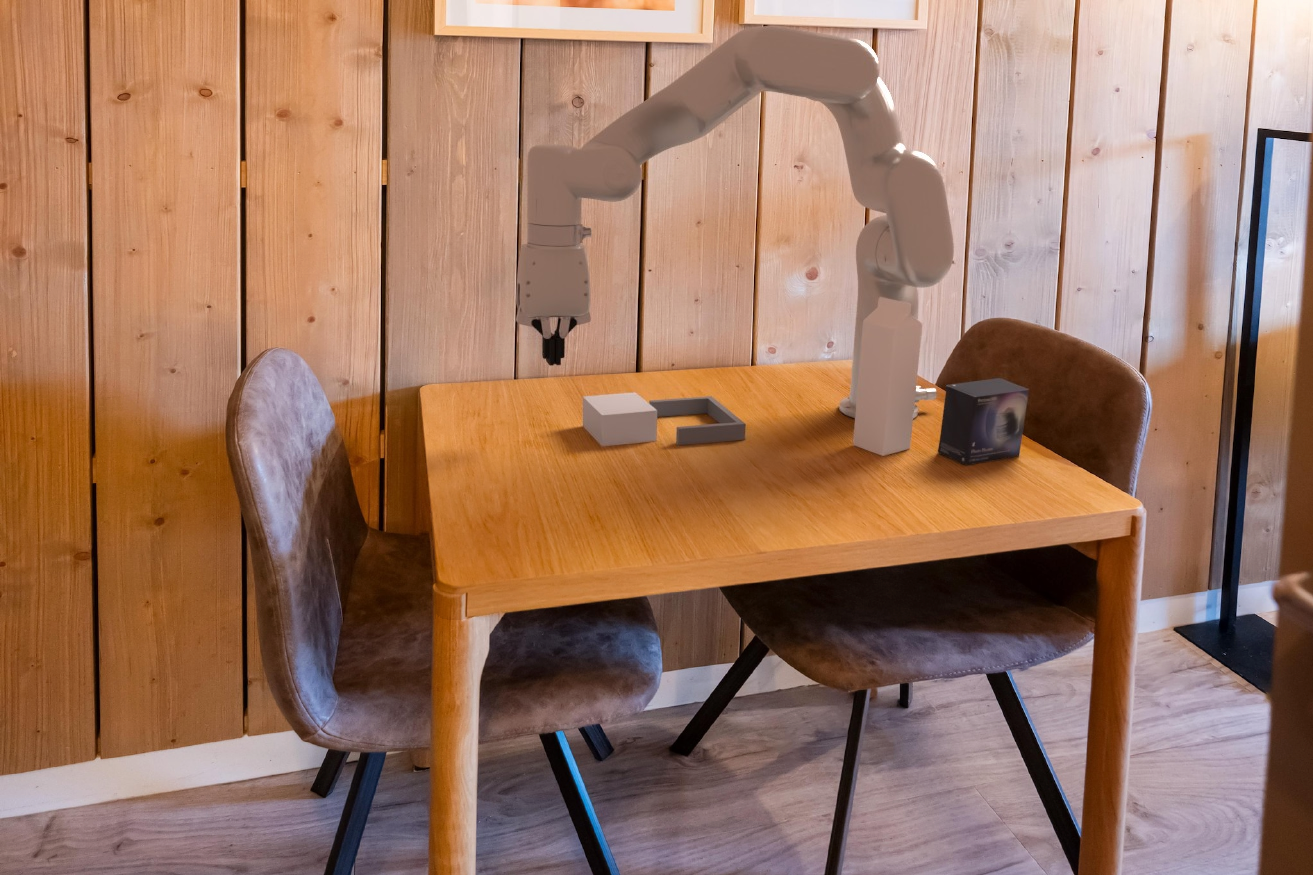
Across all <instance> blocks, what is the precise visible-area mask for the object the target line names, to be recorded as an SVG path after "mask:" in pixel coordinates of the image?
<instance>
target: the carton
mask: <svg viewBox="0 0 1313 875" xmlns="http://www.w3.org/2000/svg"><path fill="white" fill-rule="evenodd" d="M582 427H583V428H584V429H585V430H586V431H587V432H588V433H589V434H590V436H592V438H594V440H595V441H596V442H597V443H598V444H599V445H600V447H608V446H609V447H610V446H619V445H630V444H640V443H649V442H658V441H657V440H658V439H657V438H658V417H657V410H656V409H655V408H654V407H653V406H651V405H650V404H649V401H647V400H645V399H644V397H642V396H640V395H639V394H638V393H637V392H635V391H634V392H624V393H609V394H598V395H586V396H582Z"/></svg>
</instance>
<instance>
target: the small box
mask: <svg viewBox="0 0 1313 875" xmlns="http://www.w3.org/2000/svg"><path fill="white" fill-rule="evenodd" d="M1029 391H1030V389H1029V388H1026V387H1025V386H1021V385H1018V384H1016V383H1013V382H1011V381H1008V380H1006V379H1003V378H1001V377H997V378H995V377H994V378H989V379H981V380H975V381H974V380H973V381H967V382H959V383H950V384H946V385H945V396H944V403H943V404H944V405H943V412H942V419H941V420H942V421H941V426H940V434H939V442H938V449H937V453H938V454H940V455H942V456H944V457H946V458H949V459H951V460H952V461H953V460H954V461H955V462H958V463H960V464H962V465H964V466H969V465H976V464H981V463H986V462H987V463H988V462H993V461H998V460H1004V459H1011V458H1017V457H1020V453H1021V446H1022V441H1023V440H1022V438H1023V433H1024V427H1025V426H1024V425H1025V418H1026V412H1027V405H1028V398H1029Z"/></svg>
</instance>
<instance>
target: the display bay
mask: <svg viewBox="0 0 1313 875" xmlns="http://www.w3.org/2000/svg"><path fill="white" fill-rule="evenodd" d="M648 403H649V404H650V405H651V406H653V407H654V408H655V409H656V410H657V418H659V417H674V416H688V415H701V414H702V415H703V414H708V415H709V416H710V417H711V418H712V419H714V420H715V421H716V422H717V423H711V424H699V425H698V424H697V425H696V424H695V425H686V426H685V425H684V426H682V425H681V426H676V434H675V435H676V438H675V441H676V445H678V446H683V445H696V444H697V445H698V444H707V443H708V444H709V443H720V442H734V441H745V440H746V425H747V424H746V423H745V422H744V421H743V420H742V419H740V418H739V417H738V416H736V414H734V413H733V412H732V411H731V410H729V409H728V408H727V407H726V406H724V405H723V404H722V403H721V402H720V401H718V400H717V399H716V398H715V397H713V396H712V395H711V396H696V397H682V398H679V397H678V398H668V399H667V398H665V399H653V400H649V401H648Z"/></svg>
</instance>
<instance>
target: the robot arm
mask: <svg viewBox="0 0 1313 875" xmlns="http://www.w3.org/2000/svg"><path fill="white" fill-rule="evenodd" d="M763 92H771V93H776V94H777V93H779V94H783V95H789V96H794V97H801V98H806V99H808V100H811V101H814V102H820V104H822V105H824V106H825V108H827V109H828V110H829V111H830V112H831V114H832V116H833V117H834V119H835V121H836V123H837V125H838V128H839V132H840V135H841V140H842V143H843V149H844V154H845V160H846V163H847V169H848V173H849V180H850V184H851V190H852V193H853V196H854V198H855V199H856V201H857V202H858V203H859V204H860V205H861V206H862V207H865V208H866V209H869V210H872V211H875V212H878V213H879V212H880V213H882V214H883V213H884V214H885V215H880V216H878V217H875V218H873V219H870V221H868V222H867V223H866V224H865V226H863V228H862V229H861V231H860V232H859V235H858V237H857V241H856V245H855V246H856V247H855V262H856V264H855V265H856V273H857V302H856V303H857V304H856V305H857V306H856V316H855V326H854V337H853V338H854V339H853V350H852V351H853V352H852V362H851V363H852V364H851V374H850V375H851V377H850V390H849V396H847V397H844V398H842V399H841V400H840V401H839V407H838V408H839V411H840V413H843V414H844V415H845V416H847V417H850V418H853V419H855V414H856V402H857V389H858V377H859V365H860V353H861V341H862V328H863V320H864V319H866V318H867V317H868V316H869V315H870V314H871V313H872V312H873V311H874V310H875V309H876V308H877V307H878V299H879V297H883V298H888V299H892V300H897V301H902V302H906V303H910V304H911V311H910V314H911V315H912V316H913V317H914V318H916V319H917V320H918V315H919V293H918V292H919V291H918V288H921V289H922V288H930V287H933V286H935V285H937V284H938V283H940V282H942V280H943V279H944V278H946V277H947V275H948V273H949V271H950V270H951V267H952V264H953V261H954V260H953V259H954V256H955V255H954V254H955V253H954V252H955V251H954V250H955V249H954V248H955V247H954V245H955V244H954V236H953V229H952V225H951V224H952V223H951V217H950V211H949V205H948V199H947V198H948V197H947V192H946V188H945V183H944V179H943V175H942V173H941V171H940V169H939V167H938V166H937V164H936V163H935V161H934V160H933V159H932V158H931V157H929V156H928V155H927V154H924V153H923V152H921V151H919V150H913V149H907V148H906V146H905V144H904V139H903V137H902V132H901V131H902V130H901V127H900V123H899V120H898V115H897V110H896V108H895V103H894V100H893V98H892V96H891V93H890V92H889V89H888V87H887V86H886V85H885V82H883V80H882V79H881V77H880V63H879V60H878V56H877V54H876V52H875V51H874V50H873V48H872V47H871V46H869V45H868V44H867V43H866V42H864V41H862V40H859V39H857V38H851V37H847V36H838V35H834V34H828V33H827V34H825V33H821V32H820V33H819V32H813V31H809V30H802V29H798V28H797V29H796V28H792V27H787V26H781V25H780V26H779V25H765V26H755V27H754V26H753V27H748V28H745V29H742V30H740V31H738V32H737V33H735V34H734V35H732V36H731V37H729V38H728V39H727V40H726V41H724V42H723V43H722V44H720V45H719V46H717V47H716V48H715V49H714V50H712V51H711V52H710V53H709V54H707V55H706V56H705V57H704V58H702V59H701V60H700V61H699V62H698V63H696V64H695V65H693V66H692V67H691V68H690V69H688V70H687V71H686V72H684V73H683V74H682V75H680V76H679V77H677V79H675V80H674V81H672V82H671V83H669V84H668V85H667V86H666V87H664V88H663V89H661V90H659V91H658V92H656V93H654V94H653V95H652V96H650V97H649V98H647V99H646V100H645V101H643V102H641V103H639V104H638V105H636V106H635V107H633V108H631V109H630V110H628V111H627V112H625V113H624V114H622V115H621V116H620V117H618V118H616V119H615V120H614V121H612V122H611V123H610V124H608V125H607V126H606V127H605V128H603V129H602V130H601V131H600V132H599V133H597V134H596V135H594V136H593V137H592V138H591V139H589V140H588V141H587V142H585V144H584V145H582V147H580V148H577V147H575V146H573V145H568V144H567V145H566V144H537V145H534V146H532V147H530V148H529V150H528V153H527V160H526V161H527V167H526V168H527V169H526V170H527V171H526V172H527V177H526V178H527V179H526V181H527V184H526V185H527V187H526V189H527V194H526V195H527V196H526V197H527V203H526V204H527V207H526V208H527V213H526V217H527V227H526V228H527V231H526V232H527V236H526V237H527V241H526V242H527V243H524V244H521V247H520V251H519V258H518V264H517V274H516V294H515V296H516V297H515V298H516V301H515V302H516V308H517V312H516V313H517V314H516V317H515V321H516V322H517V323H518V324H519V325H522V326H527V327H530V328H531V327H532V328H534V329H535V330H536V331H537V332H538V333H539V334H540V335H541V337H542V338H541V339H542V340H541V341H542V342H541V348H542V349H541V350H542V351H541V354H542V359H543V360H545V361H546V363H547V364H548V365H549V367H550V366H555V365H556V366H561V365H562V359H565V353H566V352H565V350H566V349H565V348H566V347H565V344H566V343H565V342H566V340H565V339H566V338H567V337H568V335H569V333H570V332H571V331H572V330H574V328H576V326H581V325H583V324H584V325H585V324H587V323H590V322H591V320H592V317H591V315H590V314H591V313H590V310H591V282H590V268H589V260H588V255H587V254H588V253H587V250H586V246H585V245H584V244H582V243H583V241H584V239H586V238H591V237H592V229H591V227H586V226H583V223H582V206H583V205H582V203H583V202H582V201H583V199H590V200H596V201H604V202H611V203H614V202H615V203H616V202H621V201H622V202H623V201H624V200H627V199H629V198H631V197H632V196H633V195H634V194H635V193H636V192H637V190H638V189H639V187H640V185H641V181H642V177H643V171H642V167H641V166H642V165H643V164H644V163H646V162H648V161H649V160H650V159H652V158H654V157H656V156H657V155H659V154H661V153H663V152H664V151H667V150H669V149H672V148H675V147H678V146H683V145H686V144H690V143H692V142H694V141H696V140H698V139H701V138H703V137H704V136H706V135H708V134H709V133H711V132H712V131H713V130H715V129H716V128H717V127H718V126H720V124H722V123H723V122H724V121H726V120H727V119H728V118H730V116H732V115H734V113H735V112H737V111H738V110H740V109H741V108H743V107H744V106H745V105H746V104H748V102H750V101H751V100H752V99H754V98H755V97H756V96H758V95H759V94H760V93H763ZM550 318H556V319H557V320H556V325H555V326H556V327H555V330H554V333H553V332H552V329H551V321H550ZM937 392H938V391H937V389H936V388H935V387H926V388H922V386H920V385H916V394H915V404H914V414H913V419H915V418H916V417H917V416H918V413H919V407H918V405H916V403H919V402H920V401H932V400H936V399H937V396H938V394H937Z"/></svg>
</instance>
